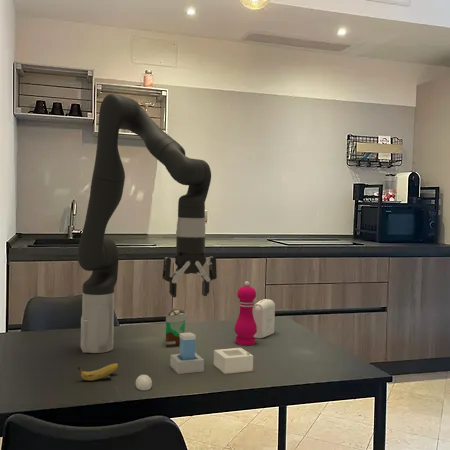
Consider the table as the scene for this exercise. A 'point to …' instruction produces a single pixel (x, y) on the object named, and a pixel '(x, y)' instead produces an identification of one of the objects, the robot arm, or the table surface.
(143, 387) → the egg
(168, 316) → the food container
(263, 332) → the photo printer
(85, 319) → the robot arm
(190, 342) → the plug
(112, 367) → the banana
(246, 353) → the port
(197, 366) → the box
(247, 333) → the pepper mill
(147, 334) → the table surface
